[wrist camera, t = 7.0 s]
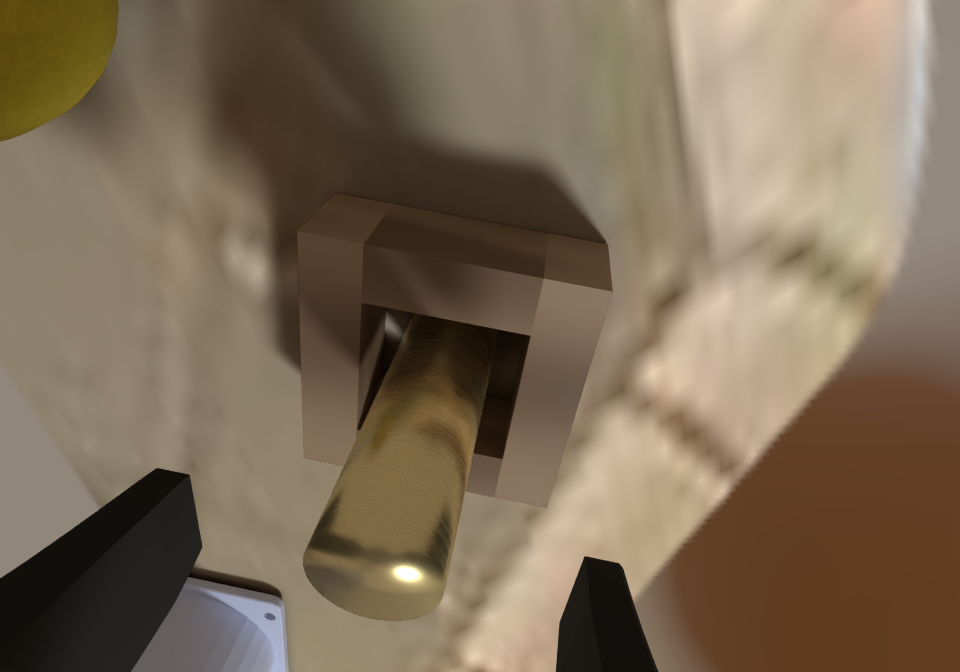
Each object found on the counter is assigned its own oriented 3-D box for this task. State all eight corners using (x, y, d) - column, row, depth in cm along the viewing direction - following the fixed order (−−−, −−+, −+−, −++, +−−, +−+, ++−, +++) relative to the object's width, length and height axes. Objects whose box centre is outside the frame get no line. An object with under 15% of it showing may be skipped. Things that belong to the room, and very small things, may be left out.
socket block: (550, 446, 19) (546, 508, 17) (333, 402, 19) (303, 458, 17) (607, 244, 15) (612, 291, 13) (335, 193, 15) (296, 231, 13)
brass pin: (490, 376, 18) (436, 632, 11) (407, 359, 18) (304, 604, 11) (503, 303, 16) (451, 546, 10) (414, 286, 16) (301, 515, 10)
